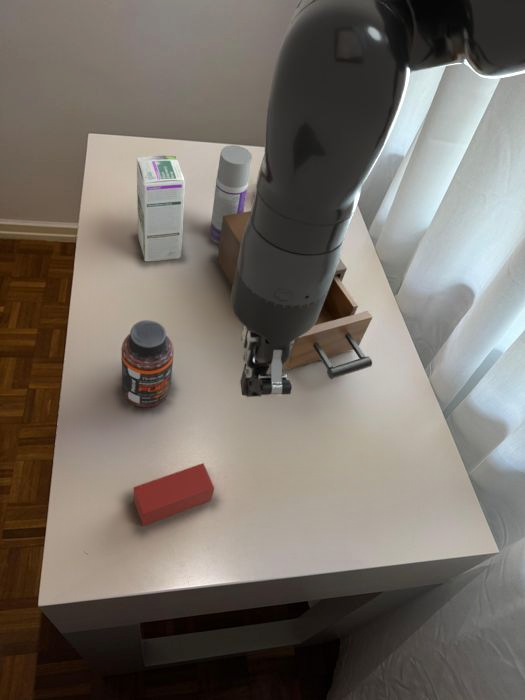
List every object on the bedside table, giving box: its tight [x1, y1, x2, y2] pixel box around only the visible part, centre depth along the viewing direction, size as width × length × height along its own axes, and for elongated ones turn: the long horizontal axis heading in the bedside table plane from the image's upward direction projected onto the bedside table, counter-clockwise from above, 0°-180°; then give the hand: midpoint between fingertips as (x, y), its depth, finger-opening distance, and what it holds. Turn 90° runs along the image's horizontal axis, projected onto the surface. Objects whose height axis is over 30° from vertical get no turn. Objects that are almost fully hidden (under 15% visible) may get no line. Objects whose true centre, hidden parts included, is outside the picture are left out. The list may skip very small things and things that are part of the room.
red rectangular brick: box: [133, 463, 215, 527], centre depth 63 cm, size 8×3×3 cm, turn 115°
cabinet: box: [216, 210, 348, 288], centre depth 84 cm, size 15×13×9 cm
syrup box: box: [136, 155, 186, 262], centre depth 83 cm, size 6×6×14 cm
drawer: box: [283, 275, 373, 380], centre depth 78 cm, size 19×11×7 cm, turn 25°
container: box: [209, 144, 253, 245], centre depth 87 cm, size 5×5×15 cm
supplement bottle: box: [120, 319, 174, 408], centre depth 68 cm, size 6×6×11 cm
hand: (250, 389), depth 58 cm, fingers closed
